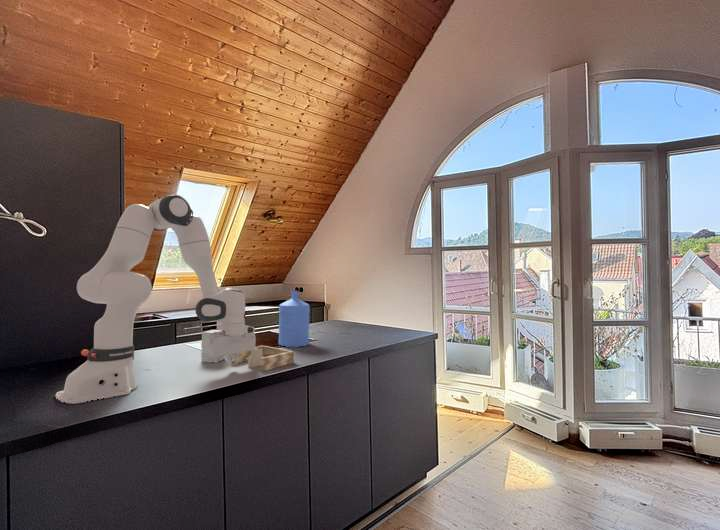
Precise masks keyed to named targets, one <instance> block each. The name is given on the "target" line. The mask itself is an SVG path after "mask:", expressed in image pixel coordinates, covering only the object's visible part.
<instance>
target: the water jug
mask: <svg viewBox="0 0 720 530" xmlns="http://www.w3.org/2000/svg"><path fill="white" fill-rule="evenodd" d="M298 291H299V290H291V297H290V299H287V300H286V301H284V302H282V303H280V304H279V308H278V313H279V315H278V316H279V317H278V320H279V322H278V341H277V342H278V345H279V346H280V345H281V347H283V346H287V347H286V348H300V347H299V346H304V347H306V346H305V345H307V346H309V344H310V311H311V309H310V304H309V303H307V302H306V301H303V300H301V299H300V298H299V297H298V295H299V292H298Z"/></svg>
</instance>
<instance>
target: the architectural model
mask: <svg viewBox="0 0 720 530" xmlns="http://www.w3.org/2000/svg"><path fill="white" fill-rule="evenodd" d="M262 354H263V349H255V350H251V355H250V356H249V355H248V358H246V359H248V361H247V367H248V368H250V367H252V368H256V367H255V366H257V367H260V361H261V358H264V357H263V356H262Z"/></svg>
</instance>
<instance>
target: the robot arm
mask: <svg viewBox="0 0 720 530" xmlns="http://www.w3.org/2000/svg"><path fill="white" fill-rule="evenodd" d="M168 229H171V230H172V231H173V232H174V233H175V235H176V237H177V243H178V248H179V251H180V254H181V256H182V258H183V261H184V263H185V264H186V265H187V266H188V267H189V268H191V269H192V270H193V272H194V273H195V275H196V276H197V279H198V282H199V287H200V290H201V293H202V298H201V299H199V301H198V302H197V303H196V306H195V308H194V309H195V314H196V316H197V318H198V319H199V320H201V321H203V322H206V323H207V322H208V323H210V322H215V321H219V320H220V321H221V324H220V325H221V327H220V329H221V331H220V332H214V333H213V334H212V335H211V336H210V342H209V348H208V355H209V356H210V357H220V356H225V359H226V361H227V366H229V367H231V366H235V365H236V366H237V365H238V363H237V359H238V357H239V353H241V352H246V351H251V350H254V348H255V347H256V343H257V342H256V339H257V338H256V334H255V332H256V328H255V327H254V326H250V325H247V324H246V320H245V312H246V298H245V293H244V291H242V290H240V289H238V288H234V287H231V288H230V287H225V288H224V289H222V290H221V291H219V288H218V284H217V280H216V277H215V273H214V269H213V257H212V249H211V248H212V247H211V243H210V239H209V235H208V234H209V233H208V232H207V231H208V230H207V229H206V226H205V224H204V222H203V219H202V218H201V217H200V216H198V215H196V214H194V211H193V210H192V208H191V206H190V203H189V202H188V200H187V199H185V198H184V197H183V196H181V195H180V194H168V195H166V196H164V197H161V198H158V199H156V200H154V201H153V202H151V203H150V204H147V205H146V206H145V205H144V204H139V203H133V204H130V205H128V206H127V207H125V210H124V211H123V213H122V215H121V216H120V218H119V220H118V221H117V223H116V227H115V229H114V231H113V234H112V237H111V239H110V242H109V245H108V247H107V249H106V250H105V252H104V254H103V256H102V257H101V258H100V260H98V261H97V263H96V264H95V265H94V267H93V266H92V267H93V268H91V269H90V270H89V271H88V272H86V273H84V274H82V275H81V276H80V278H79V279H78V280H77V283H76V291H77V294H78V296H79V297H80V298H81V299H83V300H85V301H87V302H91V303H94V304H105V305H106V308H105V311H104V313H103V316H102V317H100V318H99V319H98V320H97V321H95V324H94V326H93V347H92V348H91V349H82V350H81V351H80V354H81V355H82V356H83V357H87V358H86V359H87V360H86V361H85V362H84V363H82V364H81V365H79V366H78V367H77V368H76V369H74V370H73V371H72V372H71V373H69V374H68V375H67V377H66V379H65V383H64V388H63V390H60V391H57V392H56V393H55V395H54V396H55V397H56V398H55V399H56V400H57V399H58V400H57V401H59V400H60V401H59V402H61V403H64V402H65V404H71V405H72V404H73V405H74V404H81V403H87V401H88V402H92V401H91V400H93V401H97V399H99V400H102V399H103V398H104V399H110V398H114V396H115V397H119V396H125V395H128V394H131V392H132V391H133V390H135V389H137V388H138V383H137V380H136V376H135V375H136V374H135V369H134V359H135V345H134V344H133V342H134V341H133V337H134V324H135V323H134V322H135V318H136V316H137V313H138V311H139V309H140V307H141V306H142V305H144V304H145V302H146V301H148V300H149V298H150V296H151V294H152V292H153V291H152V288H153V287H152V282H151V280H150V279H149V276H147V275H145V274H141V273H138V272H134V271H131V270H132V269H133V268H134V267H135V266H136V265H138V264H139V263H141V262H142V261H143V260H144V259H145V256H146V253H147V250H148V246H149V243H150V241H151V238H152V237H151V236H152V234H153V231H158V232H159V231H160V232H161V231H165V230H168ZM232 354H233V355H234V357H233V360H231V357H232ZM131 390H132V391H131Z"/></svg>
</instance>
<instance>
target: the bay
mask: <svg viewBox="0 0 720 530" xmlns="http://www.w3.org/2000/svg"><path fill="white" fill-rule="evenodd" d="M255 349H263V354H262V356H263V357H264V358H261V361H260V366H259V368H260V369H259V371H260V372H266V371H270V370H273V368H274V369H277V368H281V367H284V366H283V365H285V366H287V365H286V364H289V365H291V364H290V363H293V364H295V351H294V350H289V349H285V348H279V347H278V348H277V347H273V346H268V345H258V346H255V348H254V350H255ZM248 355H249V356H250V355H251V351H246V352H241V353H239V357H238V359H237V364H239V363H238V362H240V363H244V362H243V361H245V362H248V361H247V360H248V359H246V358H248ZM233 357H234V355H233V354H232V357H231V360H233ZM280 366H281V367H280ZM276 367H277V368H276ZM269 369H270V370H269ZM265 370H266V371H265Z"/></svg>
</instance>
